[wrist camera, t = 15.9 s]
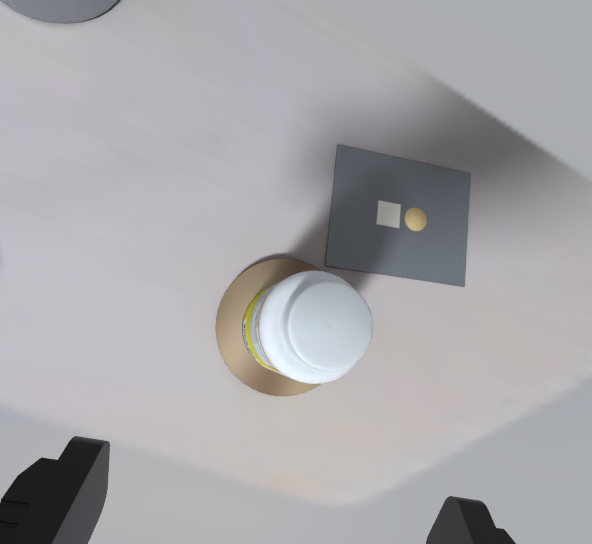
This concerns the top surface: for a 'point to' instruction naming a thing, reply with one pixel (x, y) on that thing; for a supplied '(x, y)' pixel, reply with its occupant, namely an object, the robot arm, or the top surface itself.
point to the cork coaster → (231, 327)
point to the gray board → (398, 217)
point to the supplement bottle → (308, 327)
